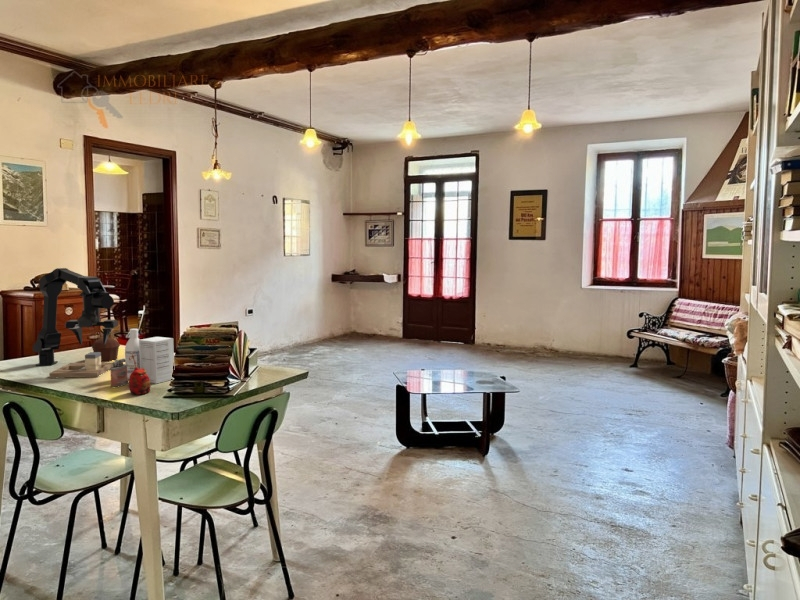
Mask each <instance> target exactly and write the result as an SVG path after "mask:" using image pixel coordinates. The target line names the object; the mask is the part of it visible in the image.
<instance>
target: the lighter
mask: <svg viewBox="0 0 800 600" xmlns="http://www.w3.org/2000/svg"><path fill="white" fill-rule="evenodd" d="M112 362H113V367H111V368H110V370H109V371H110V388H111V387H117V388H119V387H118V386H120V387H122V386H121V385H124V384H126V385H128V384H129V379H128V374H127V367H128V364H125V362H126V360H125V358H120V359H116V360H114V361H112ZM127 383H128V384H127ZM124 386H125V385H124Z"/></svg>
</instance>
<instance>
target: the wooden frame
mask: <svg viewBox="0 0 800 600" xmlns="http://www.w3.org/2000/svg"><path fill="white" fill-rule="evenodd" d="M113 362H114V361H107V362H101V368H100V369H98V370H85V362H69V363H68V364H66V365H63V366H62V367H60V368H57V369H55V370H53V371H52V372H49V374H48V375H49V379H57V378H56V377H87V378H99V377H100V376H99V375H101V374H102V375H103V373H104V374H106V373H107V372H109V371H110V368H111V367H113ZM108 370H109V371H108ZM106 371H107V372H106ZM102 375H101V376H102ZM98 376H99V377H98Z"/></svg>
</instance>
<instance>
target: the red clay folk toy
mask: <svg viewBox="0 0 800 600" xmlns="http://www.w3.org/2000/svg"><path fill="white" fill-rule="evenodd" d="M131 354H132V353H131ZM135 356H136V355H135ZM130 357H131V358H130ZM130 357H129V360H131V359H132V358H133V359H134V355H133V354H132V356H130ZM134 364H135V369H134V371H133V372H132V373H131V375H130V379H128V388H129V392H130V394H132V395H133V394H135V395H136V396H140V395H143V394H148V393H150V391H151V388H152V387H151V386H152V385H151V383H150V379H149V377H148V375H147V373H146V371H145V370H144V369H143V368H142V369H138V368H137V366H136V362H135V359H134ZM135 395H134V396H135Z"/></svg>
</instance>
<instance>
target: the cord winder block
mask: <svg viewBox="0 0 800 600" xmlns="http://www.w3.org/2000/svg"><path fill="white" fill-rule="evenodd" d="M84 363H85V370H98V369H100V368H101V363H102V362H101V352H93V351H90V352H88V353H86V354H85V355H84Z"/></svg>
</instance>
